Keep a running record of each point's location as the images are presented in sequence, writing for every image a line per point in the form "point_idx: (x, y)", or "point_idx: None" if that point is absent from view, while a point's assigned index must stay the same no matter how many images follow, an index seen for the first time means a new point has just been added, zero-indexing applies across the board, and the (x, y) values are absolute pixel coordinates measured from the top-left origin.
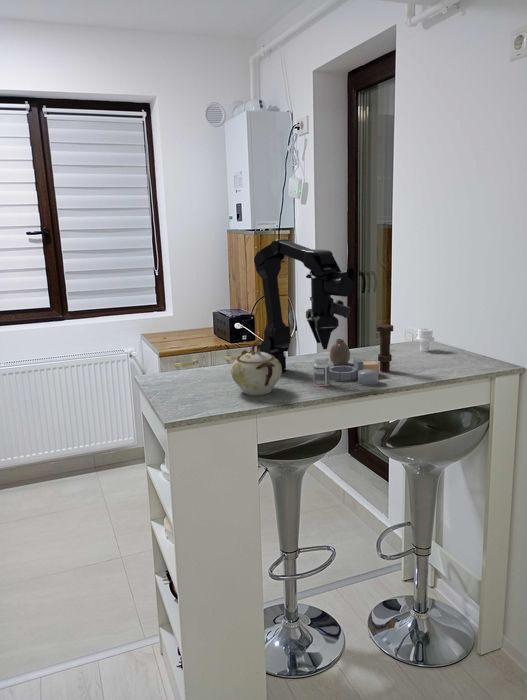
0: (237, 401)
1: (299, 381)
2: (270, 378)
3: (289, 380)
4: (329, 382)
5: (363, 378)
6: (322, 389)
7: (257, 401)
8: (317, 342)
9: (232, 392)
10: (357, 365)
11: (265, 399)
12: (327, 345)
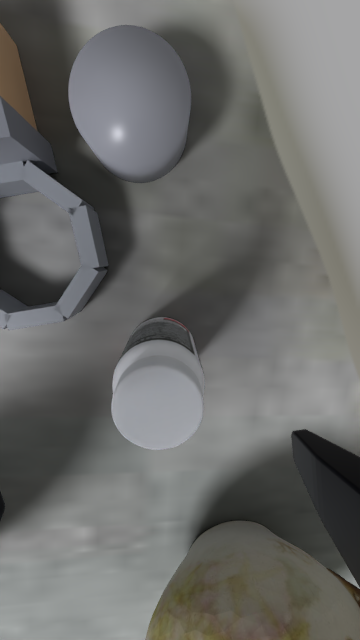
0: None
1: (113, 433)
2: (347, 590)
3: (98, 468)
4: (170, 319)
5: (180, 145)
6: (235, 347)
7: None
8: (2, 510)
9: None
10: (11, 149)
11: None
12: (339, 448)
